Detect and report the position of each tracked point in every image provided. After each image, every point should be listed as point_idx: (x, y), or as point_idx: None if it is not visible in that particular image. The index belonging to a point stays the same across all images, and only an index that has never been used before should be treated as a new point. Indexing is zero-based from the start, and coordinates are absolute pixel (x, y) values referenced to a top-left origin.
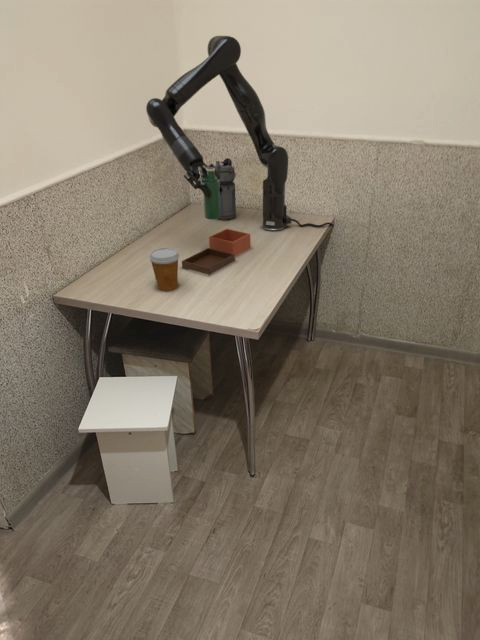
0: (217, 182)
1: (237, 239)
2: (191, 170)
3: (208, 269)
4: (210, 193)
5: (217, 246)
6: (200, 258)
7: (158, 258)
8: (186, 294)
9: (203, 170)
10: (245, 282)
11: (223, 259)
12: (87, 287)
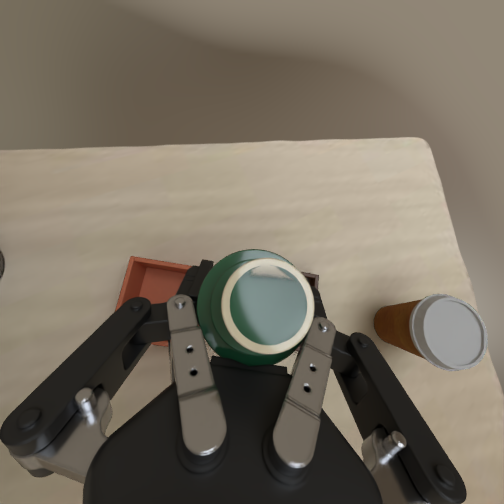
0: (265, 250)
1: (183, 268)
2: (379, 494)
3: (318, 276)
4: (307, 279)
5: None
6: None
7: (483, 324)
8: (395, 275)
9: (227, 414)
10: (307, 204)
11: None
12: (478, 485)
